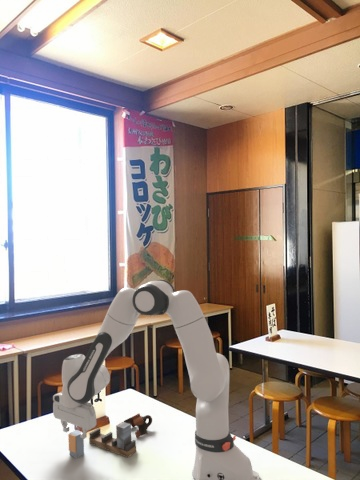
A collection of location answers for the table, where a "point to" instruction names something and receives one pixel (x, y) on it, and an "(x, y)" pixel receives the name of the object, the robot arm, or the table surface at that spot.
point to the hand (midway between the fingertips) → (74, 434)
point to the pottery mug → (139, 424)
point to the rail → (115, 440)
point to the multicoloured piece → (76, 443)
